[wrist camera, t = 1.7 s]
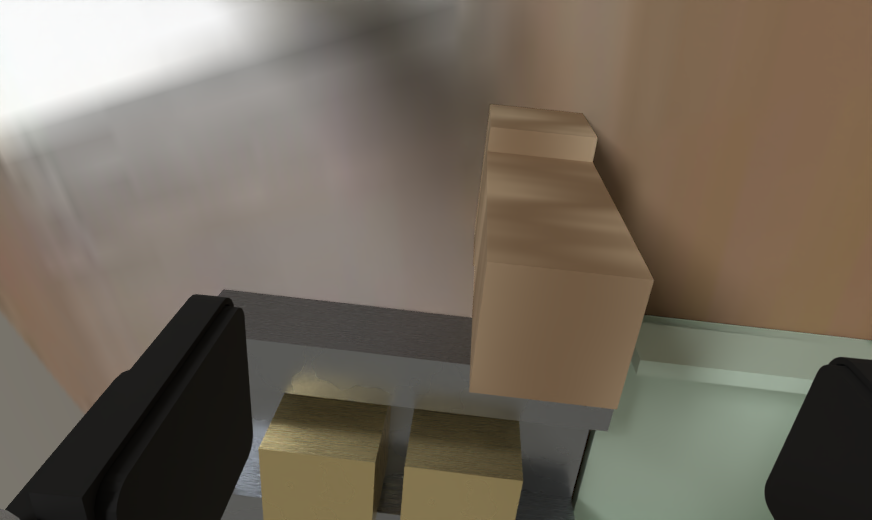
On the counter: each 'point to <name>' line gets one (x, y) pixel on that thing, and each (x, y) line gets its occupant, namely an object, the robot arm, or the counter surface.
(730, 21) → the counter surface
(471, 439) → the chip
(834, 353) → the tray
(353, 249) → the counter surface
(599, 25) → the counter surface
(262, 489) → the tan cube
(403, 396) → the slot board
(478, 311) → the tan gable carton
